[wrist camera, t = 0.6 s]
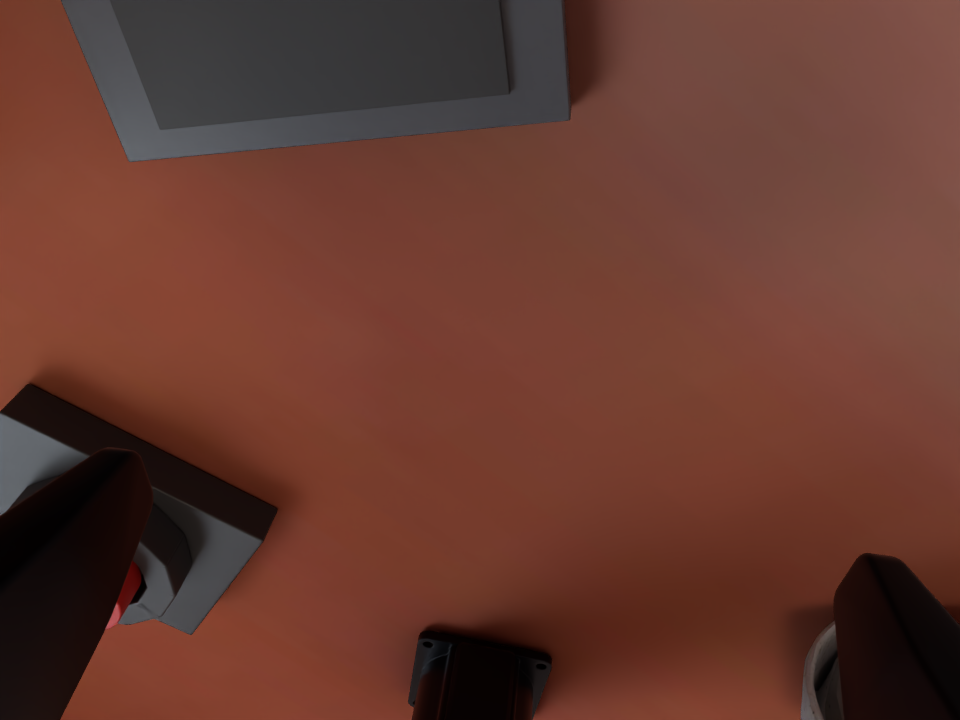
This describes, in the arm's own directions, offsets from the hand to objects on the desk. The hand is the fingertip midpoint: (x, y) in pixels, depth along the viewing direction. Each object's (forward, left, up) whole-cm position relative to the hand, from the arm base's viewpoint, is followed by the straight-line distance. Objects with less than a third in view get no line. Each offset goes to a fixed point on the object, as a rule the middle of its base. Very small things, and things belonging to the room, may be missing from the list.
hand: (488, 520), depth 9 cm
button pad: (-20, +15, -15) cm, 29 cm away
